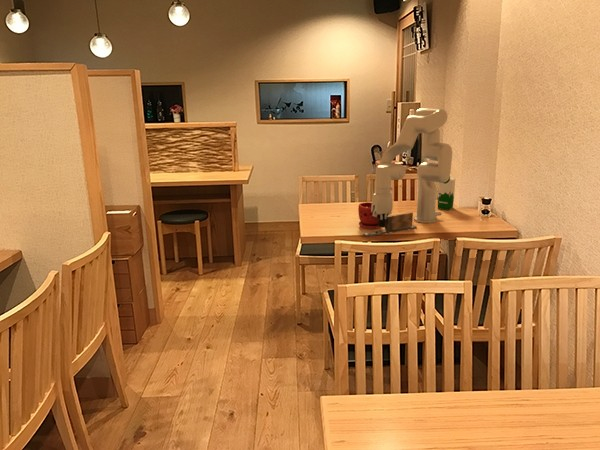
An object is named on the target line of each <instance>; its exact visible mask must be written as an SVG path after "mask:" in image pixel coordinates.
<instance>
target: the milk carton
mask: <svg viewBox="0 0 600 450" xmlns="http://www.w3.org/2000/svg"><path fill="white" fill-rule="evenodd" d="M455 186H456V178H454V177H451V176H450V177H449V179H448V181H446V182H444V183H439V182H438V192H437V210H444V211H451V210H452V209H453V208H454V203H455V202H454V201H455V191H456V190H455V188H456V187H455Z"/></svg>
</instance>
